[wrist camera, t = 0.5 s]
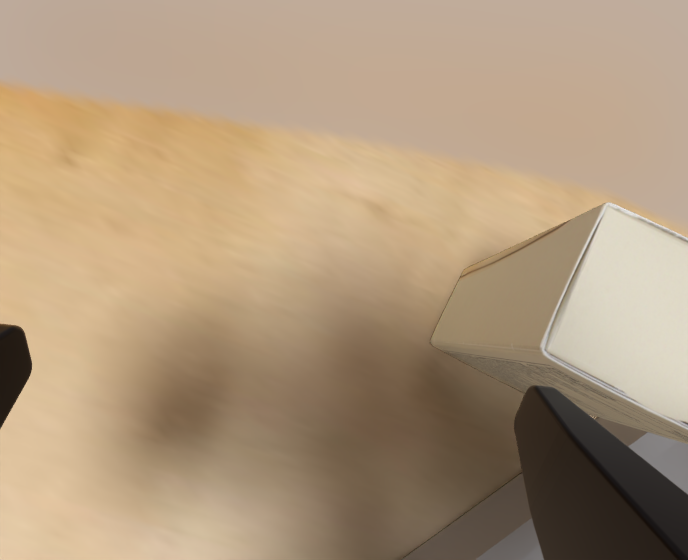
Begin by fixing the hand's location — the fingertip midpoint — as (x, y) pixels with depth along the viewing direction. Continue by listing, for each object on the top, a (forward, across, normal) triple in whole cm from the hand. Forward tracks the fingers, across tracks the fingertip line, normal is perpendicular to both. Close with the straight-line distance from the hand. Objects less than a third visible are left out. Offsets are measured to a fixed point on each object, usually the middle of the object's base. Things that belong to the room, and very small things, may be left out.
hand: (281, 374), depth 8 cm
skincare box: (+13, -9, +7) cm, 17 cm away
